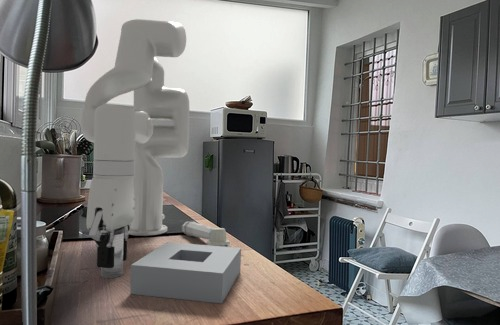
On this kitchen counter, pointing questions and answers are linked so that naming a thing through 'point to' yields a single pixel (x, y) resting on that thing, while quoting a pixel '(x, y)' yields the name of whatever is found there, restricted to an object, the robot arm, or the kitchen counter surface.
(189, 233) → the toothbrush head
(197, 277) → the socket block
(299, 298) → the kitchen counter surface
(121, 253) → the cylinder
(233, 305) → the kitchen counter surface
